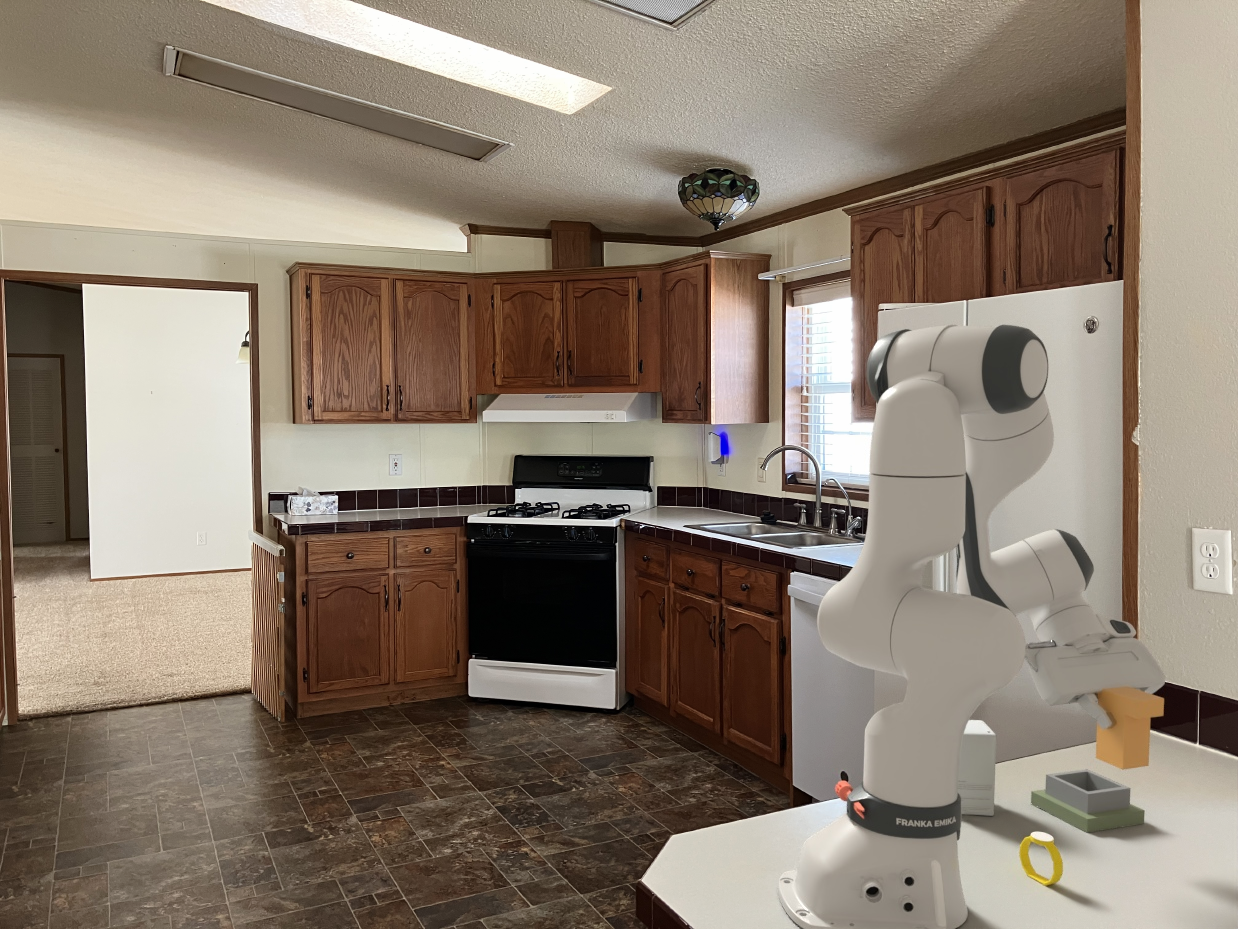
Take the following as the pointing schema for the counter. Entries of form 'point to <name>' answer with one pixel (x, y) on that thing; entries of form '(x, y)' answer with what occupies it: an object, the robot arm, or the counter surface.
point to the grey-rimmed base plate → (1087, 801)
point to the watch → (1048, 842)
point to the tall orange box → (1127, 726)
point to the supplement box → (977, 769)
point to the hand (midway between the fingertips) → (1127, 725)
